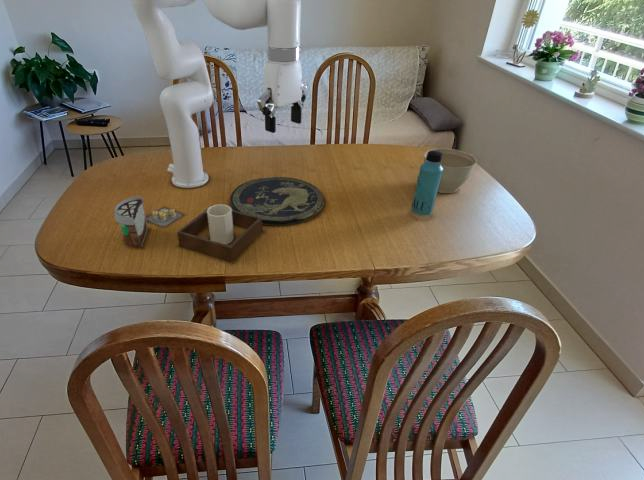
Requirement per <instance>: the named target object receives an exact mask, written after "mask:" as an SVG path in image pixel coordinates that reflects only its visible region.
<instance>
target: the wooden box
mask: <svg viewBox="0 0 644 480" xmlns="http://www.w3.org/2000/svg"><path fill="white" fill-rule="evenodd" d="M213 205H214V204H212V205H210V206H209V207H211V206H213ZM207 209H208V208H206V209H204V211H202V212H201V213H200V214H198V215H197V216H196V217H194V219H192V220H191V221H189V222H188V223H186V225H184V226H183V227H182V228H180V229H179V230H178V231H176V234H177V240H178V245H179V246H178V247H181V248H185V249H188V250H190V251H194V252H197V253H200V254H203V255H206V256H211V257H213V258H216V259H219V260H223V261H226V262H228V263H233V262H234V261H235V260H236V259H237V258H238V257H240V255H241V254H242V253H243V252H244V251H245V250H246V248H248V247H249V246H250V245H251V243H253V242H254V241H255V240H256V239H257V238H258V236H260V234H262V233H263V231H264V230H263V224H262V218H261V217H257V216H253V215H250V214H246V213H242V212H238V211H234V210H233V209H232V218H233V226H236V227H238V228H239V227H240V228H243V229H245V230H244V231H243V232H242V233H241V234H240V235H239V236H238V237H237V238H236V239H234V240H233V241H232V242H231V244H229V245H228V244H226V245H225V244H221V243H218V242H215V241H211V240H210V239H208V238H204V237H201V236H197V235H198V234H199V233H200V232H202V231H203V230H204V229H205V228H207V227H209V226H208V218H207Z"/></svg>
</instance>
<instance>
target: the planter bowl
mask: <svg viewBox="0 0 644 480" xmlns="http://www.w3.org/2000/svg"><path fill="white" fill-rule="evenodd" d="M432 150H434V151H439V152H441V153H442V160H441V162H438V163H439V164H440V165H441V166H442V167H443V171H442V175H441V179H440V183H439V186H438V190H437V193H440V194H453V193H456V192H458V190H459V188H460V187H461V186H462V185H464V184H465V183H466V182H467V181H468V179H469V178H470V177H471V175H472V173H473V171H474V168H475V166H476V164H477V159H476V157H475V156H474V155H472V154H470V153H468V152H465V151H462V150H459V149H453V148H432V149H430V150H427V151H426V152H424V155H423V163H425V162H427V161H428V160H426V157H427V154H428V152H429V151H432Z"/></svg>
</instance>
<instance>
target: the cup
mask: <svg viewBox="0 0 644 480" xmlns="http://www.w3.org/2000/svg"><path fill="white" fill-rule="evenodd" d="M212 205H213V206H212ZM212 205H210V206H211V207H210V206H209V207H207V208H206V209H207V218H208V226H207V227H208V233H209V240H211V241H215V242H218V243H221V244H225V245H228V244H229V245H230V243H231V244H232V243H233V242H234V240H235V233H234V232H235V231H234V225H233V218H232V210H233V209H232V207H231V205H230V206H229V205H227V204H224V203H223V204H221V203H219V204H212Z"/></svg>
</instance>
